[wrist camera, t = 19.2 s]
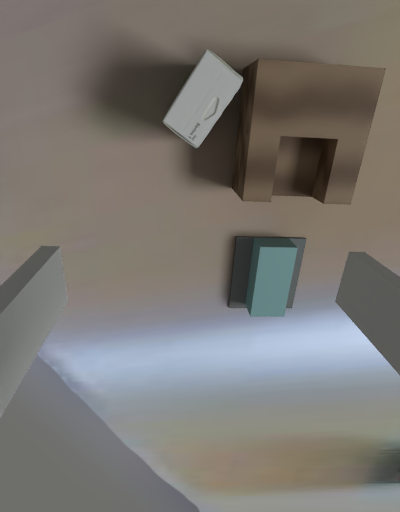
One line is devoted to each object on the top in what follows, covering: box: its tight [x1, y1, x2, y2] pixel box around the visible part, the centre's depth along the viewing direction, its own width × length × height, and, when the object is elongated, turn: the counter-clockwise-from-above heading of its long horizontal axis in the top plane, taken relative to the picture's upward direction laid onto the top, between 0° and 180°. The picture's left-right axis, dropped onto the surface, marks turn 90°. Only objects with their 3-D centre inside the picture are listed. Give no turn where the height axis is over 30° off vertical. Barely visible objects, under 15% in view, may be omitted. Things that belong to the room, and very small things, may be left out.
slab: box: [245, 238, 298, 316], centre depth 52 cm, size 13×6×4 cm, turn 177°
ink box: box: [163, 49, 243, 148], centre depth 37 cm, size 9×5×12 cm, turn 144°
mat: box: [229, 236, 306, 308], centre depth 54 cm, size 14×12×1 cm
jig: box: [232, 59, 386, 205], centre depth 41 cm, size 16×15×8 cm
